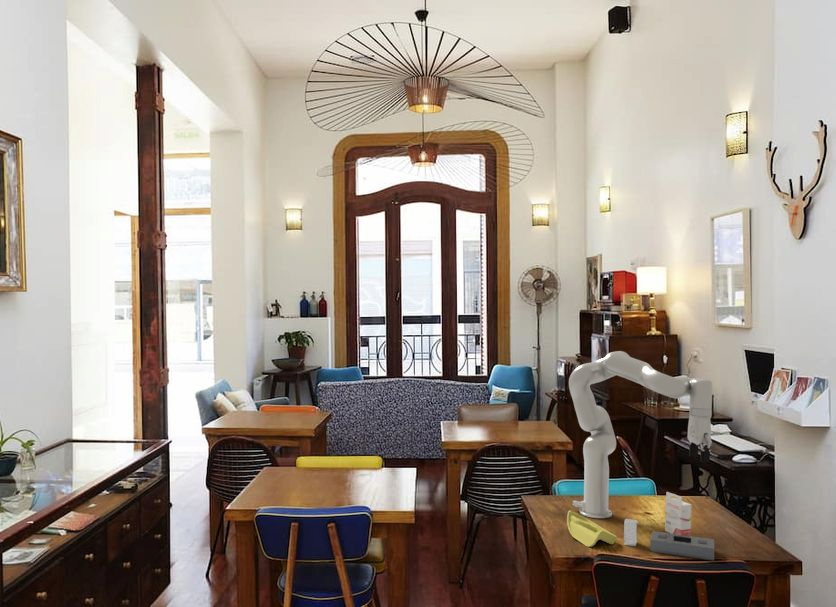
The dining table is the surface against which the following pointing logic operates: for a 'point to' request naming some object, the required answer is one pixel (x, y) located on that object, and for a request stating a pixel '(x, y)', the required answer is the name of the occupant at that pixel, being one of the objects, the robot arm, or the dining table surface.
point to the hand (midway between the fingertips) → (699, 458)
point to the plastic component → (587, 530)
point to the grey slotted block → (682, 545)
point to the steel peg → (630, 532)
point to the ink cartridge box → (677, 515)
